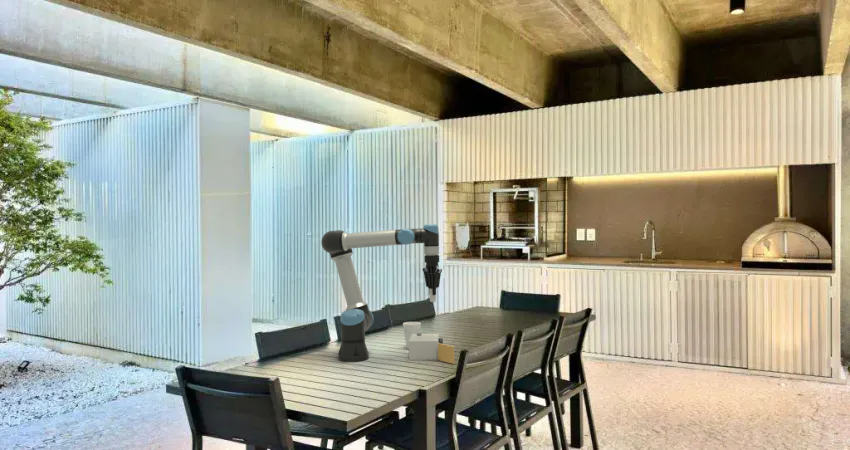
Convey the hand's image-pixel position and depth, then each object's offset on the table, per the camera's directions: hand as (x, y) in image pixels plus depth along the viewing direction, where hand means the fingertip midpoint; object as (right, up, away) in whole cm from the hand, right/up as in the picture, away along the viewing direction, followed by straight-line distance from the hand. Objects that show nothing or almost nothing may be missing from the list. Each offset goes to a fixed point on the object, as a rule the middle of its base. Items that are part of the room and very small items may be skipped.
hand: (432, 301), depth 303 cm
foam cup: (-11, -27, +17) cm, 33 cm away
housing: (-4, -27, -4) cm, 27 cm away
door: (+6, -26, -19) cm, 33 cm away
